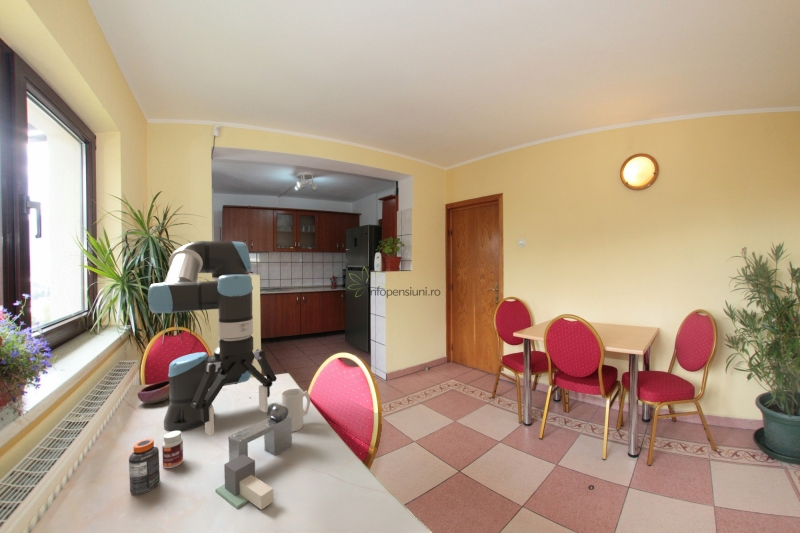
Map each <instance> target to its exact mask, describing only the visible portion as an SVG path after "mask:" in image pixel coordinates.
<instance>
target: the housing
mask: <svg viewBox="0 0 800 533" xmlns="http://www.w3.org/2000/svg"><path fill="white" fill-rule="evenodd" d="M266 415H267V416H268V418H266V419H264V420H262V421H260V422H257V423H255V424H253V425H250V426H248V427H246V428H244V429H242V430H239V431H238V432H236V433H233V434H230V435H228V462H230V461H232V460H234V459H235V458H237V457H239V456H241V455H243V454H245V455H246V456H248V457H249V452H248V451H249V450H248V449H249V448H248V447H249V446H248V445H249V443H251V442H253V441H255V440H257V439H258V438H260V437H263V438H264V439H263V440H264V451H265V452H267V453H269V454H271V455H273V456H277V455H278V454H280V453H282V452H284V451H286V450H288V449H289V448H291V447H292V446H293V433H292V421H291V416H289V415H288V408H287V407H284V406H283V405H282V404H279V403H276V402H273V403H271V404H269V405H268V411H267V412H266Z"/></svg>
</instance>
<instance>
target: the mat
mask: <svg viewBox="0 0 800 533" xmlns="http://www.w3.org/2000/svg"><path fill="white" fill-rule="evenodd" d="M262 482H263V481H262ZM263 483H265V482H263ZM215 493H217V494H218V495H219V496H220V497H221V498H222V499H224V500H225V501H227V503H228V504H231V505H232V506H233V507H234V508H235V509H237V510H238V509H240V508H241V507H242V506H244V505H245V504H247V503H248V502H250V501H249V500H247V499H246V498H245V497H243V496H242V495H241V494H239V495H237V496H234V495H233V494H232V493H230V492H229V491H228V490H226V489H225V483H224V484H222V485H221V486H219V487H217V488H216V489H215Z"/></svg>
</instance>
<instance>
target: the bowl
mask: <svg viewBox="0 0 800 533" xmlns="http://www.w3.org/2000/svg"><path fill="white" fill-rule="evenodd" d="M137 397H138V400H139V401H141V402H142V403H144V404H151V403H152V404H156V403H157V402H158V403H160V402H164V401H166V400H167V399H168V398H170V397H169V379H166V380H163V381H159V382H155V383H152V384H149V385H147V386H145V387H143V388H142V389H140V390H139V391H138V393H137ZM163 400H164V401H163Z"/></svg>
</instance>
